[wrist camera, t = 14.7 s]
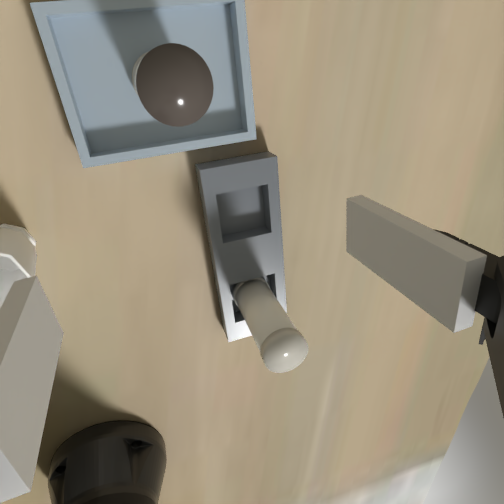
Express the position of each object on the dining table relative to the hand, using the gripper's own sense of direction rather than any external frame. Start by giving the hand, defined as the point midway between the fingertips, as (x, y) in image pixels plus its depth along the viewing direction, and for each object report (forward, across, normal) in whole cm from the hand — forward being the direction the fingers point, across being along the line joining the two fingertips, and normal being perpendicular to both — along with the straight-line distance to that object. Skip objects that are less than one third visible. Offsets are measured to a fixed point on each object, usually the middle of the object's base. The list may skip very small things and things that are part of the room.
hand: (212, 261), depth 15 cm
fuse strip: (+24, +7, -12) cm, 28 cm away
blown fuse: (+23, +2, +7) cm, 24 cm away
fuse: (+23, +7, -18) cm, 30 cm away
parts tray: (+23, +2, +7) cm, 24 cm away
